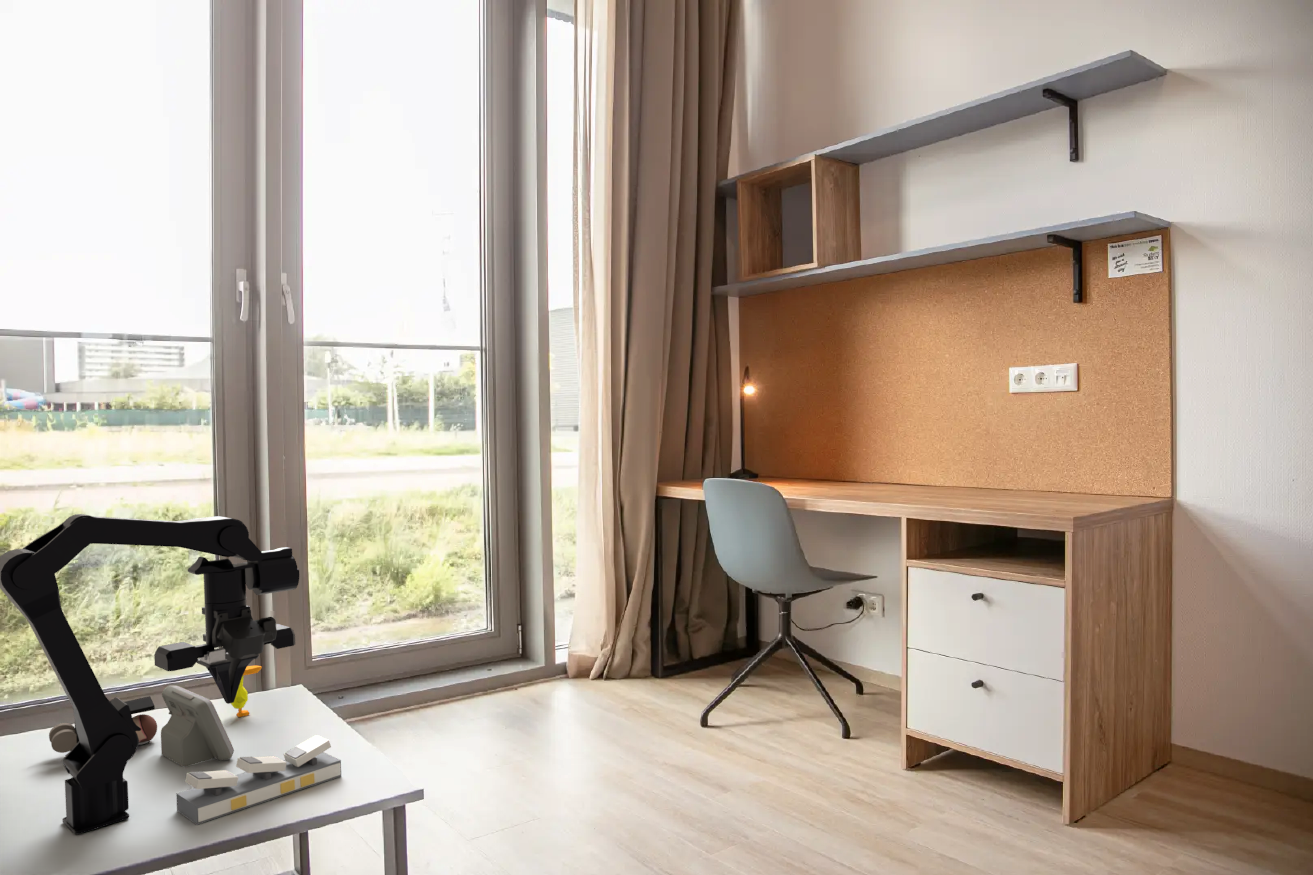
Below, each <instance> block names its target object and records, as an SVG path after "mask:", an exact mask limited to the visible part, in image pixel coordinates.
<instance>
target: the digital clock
mask: <svg viewBox="0 0 1313 875" xmlns="http://www.w3.org/2000/svg"><path fill="white" fill-rule="evenodd" d="M161 697H162V699H163V701H164V703H165V705H166V707H167V710H168V711H169V712H168V715H170V718H169V719H168V721H167V723H166V724H165V725H164V726H162V727H161V730H160V743H161V744H160V745H161V746H160V748H161V750H160V751H161V755H162V756H163V757H165V758H167V759H169V760H171V761H172V762H174V763H176V764H177V765H179V766H181V767H183V768H186V767H190V766H193V765H197V764H201V763H203V762H207V761H210V760H214V759H216V760H218V761H228V760H230V759H232V757H233V755H234V752H235V749H234V746H233V744H232V742H231V740H230V737H229V735H228V733H227V731H226V729H225V727H224V725H223V723H222V721H221V718H220V716H219V714H218V712H217V710H216V707H215V705H214V704H213V702H212V701H211V699H209V698H207V697H206V696H205V697H204V696H202V695H201V694H198V693H195V692H193V691H190V690H188V689H186V688H184V687H182V686H179V685H167V686H166V687H165V688H164V689H163V690H162V692H161Z"/></svg>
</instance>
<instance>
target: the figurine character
mask: <svg viewBox="0 0 1313 875" xmlns="http://www.w3.org/2000/svg"><path fill="white" fill-rule="evenodd" d="M124 702H125V703H126V704H127V705H128V706H129V708H130V711H131V715H134V716H132V718H133V721H134V723H135V724H136V725H137V726H138V727H140V728H141V730H140V731H136V733H137V735H138V739H139V745H138V746H141V745H146V744H147V743H149V742H150V741H152V740H153V739H154V737H155V736H156V734H157V731H158V724H157V721H156V720H155V718H154V717H152V716H151V715H149V714H144V712H147V711H152V710H155V708H156V707H155V704H154V702H153V699H152V698H151V696H150V695H149V696H144V697H141V698H140V697H139V698H135V699H130V700H127V701H124ZM139 713H142V714H139ZM137 714H138V715H137ZM48 739H49V742H50V743H51V748H52V750H53V751H54V752H56V753H60V754H61V753H62V754H64V753H66V754H65V755H64V757H65V756H66V755H67V754H68V753H69V752H70V751H71V750H72V748H73V747H74V746H75V745H76V744H77V743H78V742H79V737H78V734H77V730H76V726H75V725H73V724H71V723H68V722H61V723H57V724H56V725H54V726H53V727H51V729H50V730H49V732H48Z"/></svg>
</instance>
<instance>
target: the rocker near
mask: <svg viewBox="0 0 1313 875" xmlns="http://www.w3.org/2000/svg"><path fill="white" fill-rule="evenodd" d="M185 775H186V777H185V781H184V782H185V783H186V784H188V785H189V786H191V787H192V788H195V789H205V788H217V787H229V786H237V781H238V777H237V776H236V775H237V774H234V773H232V772H230V771H228V770H227V769H224V770H223V769H222V770H212V771H211V770H210V771H190V772H187V773H186V774H185Z"/></svg>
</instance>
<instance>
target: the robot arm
mask: <svg viewBox="0 0 1313 875" xmlns="http://www.w3.org/2000/svg"><path fill="white" fill-rule="evenodd" d="M249 533H250V532H249V530H248V527H247V526H246V524H244V522H243V520H240V519H237V518H232V517H226V516H217V515H216V516H207V517H206V516H205V517H197V518H196V517H195V518H189V519H184V520H161V519H160V520H159V519H144V518H125V517H110V516H108V517H107V516H92V515H88V514H85V513H84V514H83V513H76V514H73V515H70V516H69V517H68V518H66V519H65V520H64V521H63V522H62V523H60V524H59V525H57V526H55V527H54V528H53V529H51V530H49V531H47V532H46V533H44V534H42V535H41V536H39V537H37V538H36V539H34V540H32V541H31V542H29V543H28V544H27V545H25V546H24V547H23V548H15V549H11V550H8V551H7V552H4V553H3V554H1V555H0V590H1V592H2V593H3V594H4V596H6V597H7V599H8V600H9V601H10V602H11V603H12V604H13V605H14V607H15V608H16V609H17V610H18V611H19V613H21V615H22V616H23V618H24V619H26V620H27V622H28V624H29V626H30V628H31V630H32V632H33V634H34V635H35V637H36V639H37V641H38V643H39V645H40V647H41V649H42V651H43V653H44V654H45V656H46V659H47V660H48V663H49V664H50V667H51V668H52V670H53V672H54V674H55V675H56V678H57V680H58V681H59V683H60V685H61V687H62V689H63V691H64V693H65V696H66V697H67V699H68V700H69V702H70V704H71V707H72V711H73V718H74V727H75V726H76V730H77V734H78V737H79V742H78V743H77V744H76V745H75V746H74V747H73V748H72V750H71V751H69V752H67V753H66V754H67V755H66V754H65V755H66V756H65V755H64V757H63V758H62V760H61V764H62V765H63V767H64V769H65V770H66V772H67V774H69V775H70V776H71V778H67V779H65V780H64V794H65V817H63V818H61V819H62V820H61V821H62V823H63V825H65V827H67V828H68V829H69V830H70V831H71V832H72V833H74V834H75V835H79V834H80V835H81V834H83V833H86V832H90V831H93V830H96V829H99V828H102V827H106V826H109V825H111V824H115V823H119V822H122V821H125V820H128V819H129V818H130V814H129V813H128V812H127V811H128V810H129V807H130V806H129V787H128V786H129V785H128V783H129V782H128V780H126V779H125V778H124V772H125V768H126V765H127V763H128V761H129V760H130V759H131V758H132V757H133V756H134V755H135V753H136V751H137V749H138V747H139V746H140V745H139V739H138V735H137V733H136V731H140V730H141V728H140V727H138V726H137V725H136V724H135V723H134V721H133V714H131V711H130V708H129V706H128V705H127V704H126V703H125V702H126V701H123V700H122V699H120V698H119V697H117V696H115V697H114V698H112V699H111V700H109V699H108V697H107V696H106V694H105V692H104V690H103V688H102V686H101V684H100V683H99V681H98V678H97V677H96V675H95V673H94V671H93V668H92V667H91V665H90V662H89V660H88V658H87V657H86V655H85V653H84V651H83V649H82V647H81V644H80V643H79V641H78V639H77V637H76V634H75V633H74V631H73V630H72V627H71V626H70V624H69V622H68V619H67V617H66V616H65V614H64V612H63V609H62V602H61V595H60V588H59V584H58V581H57V576H56V573H58V572H59V571H60V570H62V569H63V568H64V567H66V566H67V565H69V563H71V562H72V561H73V560H74V559H75V558H76V557H77V556H78V555H79V554H81V552H82V551H83V550H84V549H86V548H87V547H88V546H90V545H92V544H99V545H119V546H120V545H123V546H124V545H125V546H143V547H144V546H146V547H168V548H169V547H173V548H174V547H175V548H182V549H187V550H191V551H196V552H201V553H205V554H211V555H215V556H220V557H225V558H224V559H223V558H222V559H214V560H208V559H207V558H206V557H204V556H198V557H197V559H196V561H195V562H194V563H193V564H192V565H191V566H189V567H188V568H187V572H188V573H189V574H192V575H197V576H200V575H203V593H204V594H203V598H204V606H202V607H201V614H202V615H204V621H205V622H204V624H205V633H203V634H202V641H203V642H205V643H203V644H199V645H192V644H190V643H187V642H185V641H179V642H176V643H170V644H165V645H160V646H158V647H157V649H156V650H155V652H154V655H153V656H154V666H155V667H158V668H159V669H161V670H163V671H166V672H175V671H180V670H185V669H190V668H193V667H194V666H195V665H196V664H199V665H201V666H203V667H205V668H206V669H207V671H208V672H209V674H210V675H211V677H212V678H213V680H214V682H215V685H216V687H217V688H218V690H219V692H220V694H221V697H222V699H223V700H224V703H226V704H228V705H231V703H233V702H234V700H235V697H236V694H237V691H238V688H239V685H240V682H241V679H242V676H243V674H244V672H245V669H246V667H247V666H250V664H251V662H252V661H253V660H257V659H258V658H259V657H260V655H261V654H262V653H263V652H264V646H265V645H271V646H272V647H273V648H275V649H276V650H279V649H284V648H289V647H294V646H295V645H296V633H295V631H294V629H293V628H292V627H290V626H288V625H287V626H286V625H282V624H280V623H276V622H277V621H276V619H275V618H274V617H273V616H266V617H262V618H259V619H253V616H252V609H251V606H250V605H248V604H247V589H248V590H252V591H253V593H254V594H255V595H257V596H262V595H268V594H274V593H281V592H287V591H293V590H296V589H297V588H298V585H299V583H300V568H298V563H297V561H296V558H295V557H294V555H293V549H292V548H291V547H287V546H284V547H279V548H276V549H271V550H269V549H268V550H262V551H261V550H260V549H259V547H258V546H257V545H256V544H255V543H254V542H253V541H252V540H251V538H250V534H249ZM228 558H235V559H240V560H244V561H246V562H239V563H232V561H231V560H230V559H228Z"/></svg>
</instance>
